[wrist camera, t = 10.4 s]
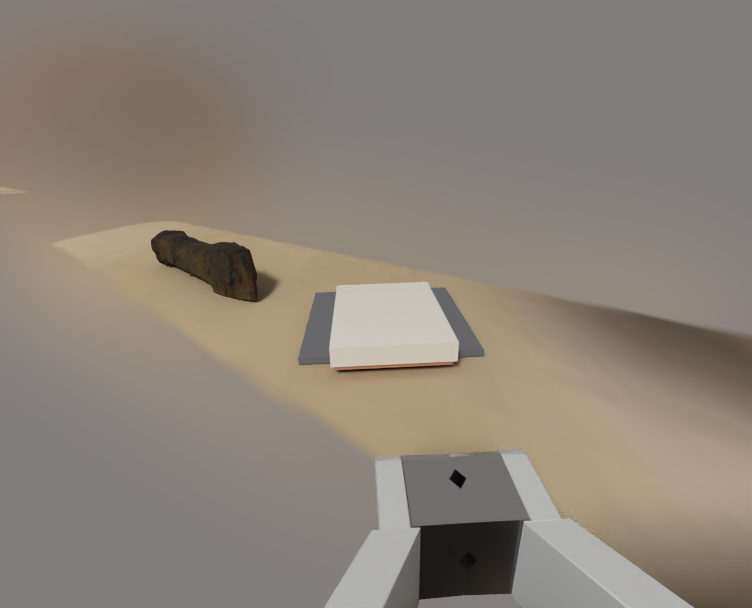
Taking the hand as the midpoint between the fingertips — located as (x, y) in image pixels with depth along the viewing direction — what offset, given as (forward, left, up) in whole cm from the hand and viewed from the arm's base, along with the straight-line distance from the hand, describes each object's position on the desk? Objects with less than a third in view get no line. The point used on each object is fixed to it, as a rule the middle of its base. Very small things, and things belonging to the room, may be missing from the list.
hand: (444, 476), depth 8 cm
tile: (0, -13, -4) cm, 13 cm away
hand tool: (+16, -32, -6) cm, 36 cm away
